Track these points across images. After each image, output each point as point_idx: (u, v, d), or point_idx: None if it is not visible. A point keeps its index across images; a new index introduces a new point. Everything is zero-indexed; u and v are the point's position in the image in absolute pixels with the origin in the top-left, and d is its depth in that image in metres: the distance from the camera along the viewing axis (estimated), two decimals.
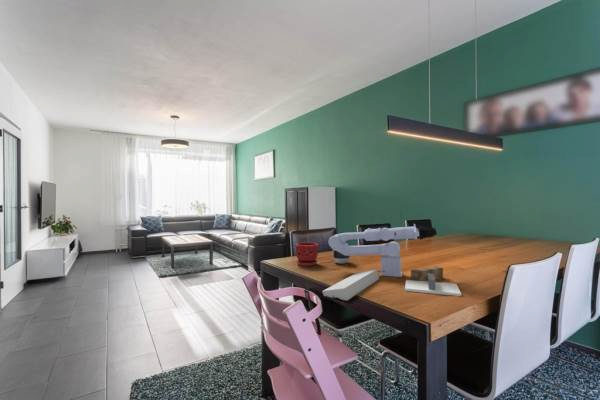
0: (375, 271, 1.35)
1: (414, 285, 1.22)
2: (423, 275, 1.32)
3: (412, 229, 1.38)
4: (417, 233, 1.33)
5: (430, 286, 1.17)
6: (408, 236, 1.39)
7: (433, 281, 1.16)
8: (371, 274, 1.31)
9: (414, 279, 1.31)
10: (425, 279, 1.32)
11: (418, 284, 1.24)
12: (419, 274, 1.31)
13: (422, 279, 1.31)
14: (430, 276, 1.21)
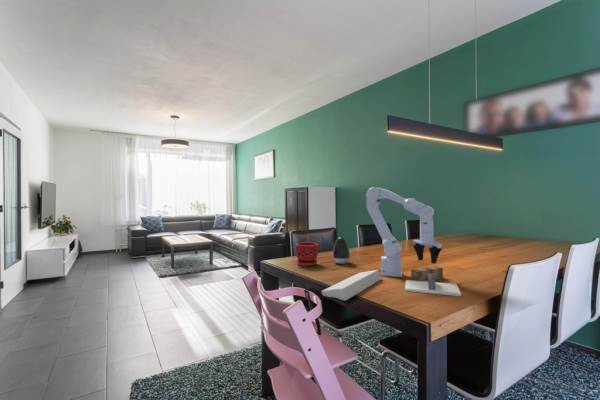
0: (376, 272, 1.34)
1: (414, 285, 1.22)
2: (423, 275, 1.32)
3: (433, 240, 1.33)
4: (440, 246, 1.28)
5: (430, 286, 1.17)
6: (428, 236, 1.32)
7: (433, 281, 1.16)
8: (372, 275, 1.30)
9: (414, 279, 1.31)
10: (425, 279, 1.32)
11: (418, 284, 1.24)
12: (420, 275, 1.31)
13: (422, 279, 1.31)
14: (430, 276, 1.21)
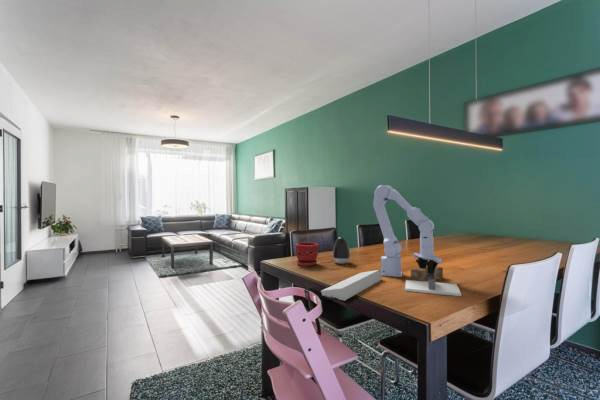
0: (377, 272, 1.34)
1: (414, 285, 1.22)
2: (423, 275, 1.32)
3: (433, 254, 1.33)
4: (440, 261, 1.28)
5: (430, 286, 1.17)
6: (428, 250, 1.32)
7: (433, 281, 1.16)
8: (373, 275, 1.30)
9: (414, 279, 1.31)
10: (425, 279, 1.32)
11: (418, 284, 1.24)
12: (419, 274, 1.31)
13: (422, 279, 1.31)
14: (430, 276, 1.21)
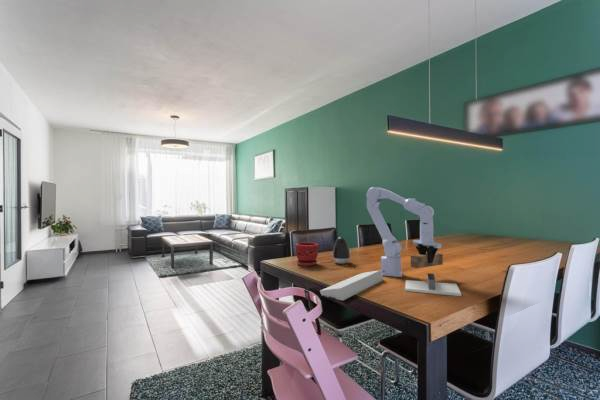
0: (378, 272, 1.33)
1: (414, 285, 1.22)
2: (423, 260, 1.32)
3: (433, 240, 1.33)
4: (440, 246, 1.28)
5: (430, 286, 1.17)
6: (428, 236, 1.32)
7: (433, 281, 1.16)
8: (373, 275, 1.29)
9: (414, 264, 1.31)
10: (425, 264, 1.32)
11: (418, 284, 1.24)
12: (419, 260, 1.31)
13: (422, 264, 1.31)
14: (430, 276, 1.21)
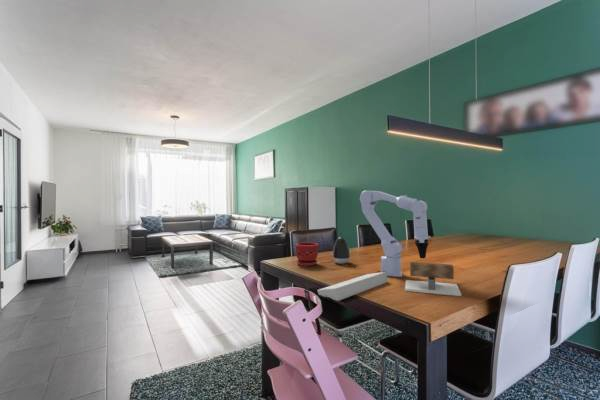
0: (383, 274, 1.30)
1: (414, 285, 1.22)
2: (420, 269, 1.21)
3: (425, 235, 1.32)
4: (422, 241, 1.28)
5: (430, 286, 1.17)
6: (417, 230, 1.33)
7: (433, 281, 1.16)
8: (376, 277, 1.27)
9: None
10: (423, 274, 1.20)
11: (418, 284, 1.24)
12: (415, 268, 1.22)
13: (419, 273, 1.21)
14: None
